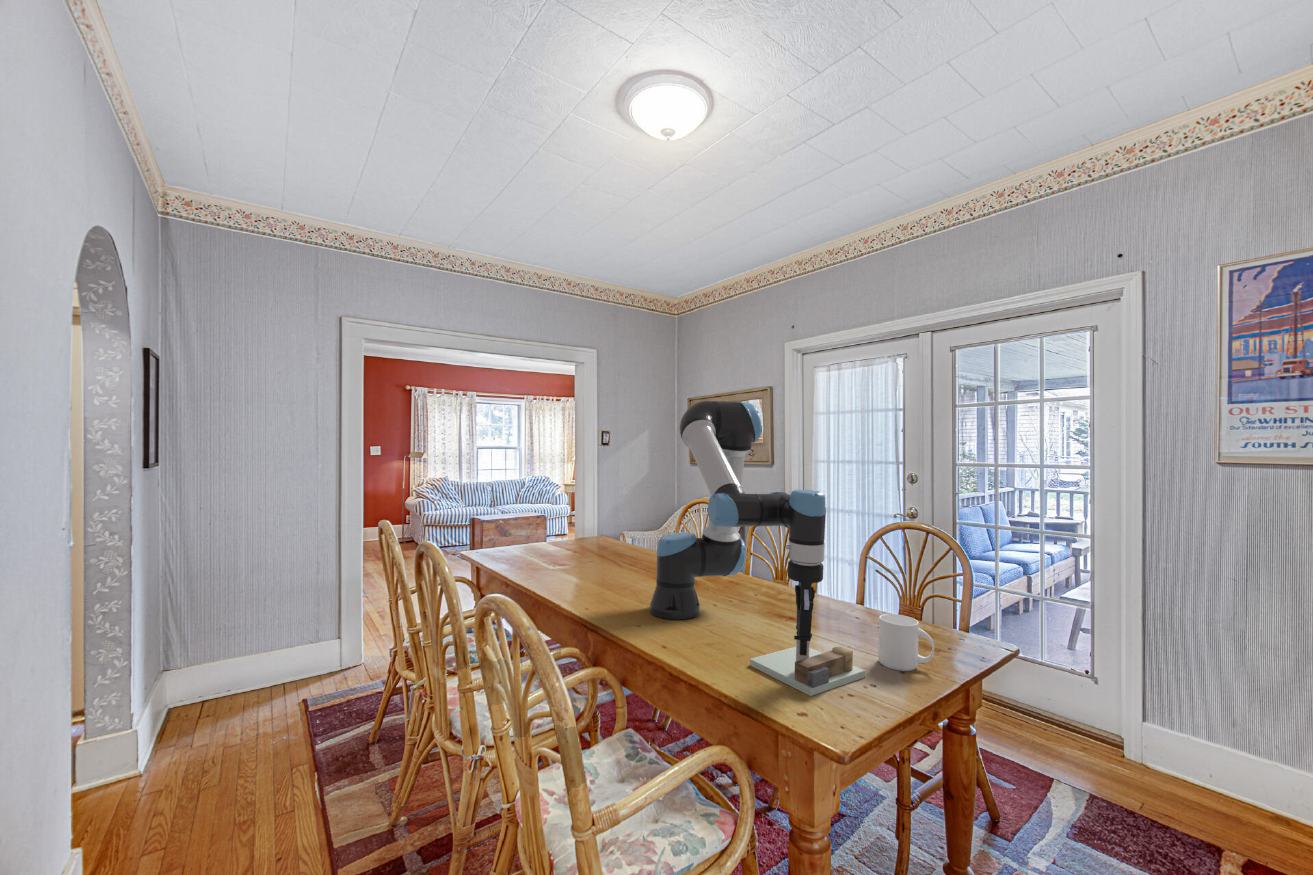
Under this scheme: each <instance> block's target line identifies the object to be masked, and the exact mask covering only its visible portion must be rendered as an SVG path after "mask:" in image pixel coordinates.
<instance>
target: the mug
mask: <svg viewBox="0 0 1313 875" xmlns="http://www.w3.org/2000/svg"><path fill="white" fill-rule="evenodd" d="M878 624H879V625H878V649H877V650H878V652H877V654H878V662H879V663H880V664H881V665H882V666H884V667H885V668H888V669H890V670H895V671H899V672H901V671H902V672H911V671H915V669H917V668H918V664H925V663H928V662H930V661H931V660H932V658H933V656H934V653H935V642H934V640H933V638H932V637H931V636H930V635H929V633H927V632H926V631H925V630H923V629H922V628H921V627H920V624H919V621H918V620H917V619H915V618H914V617H910V616H907V615H903V614H896V613H885V614H881V615H879V618H878ZM919 637H920V638H924V639H926V640H927V641H928V642H929V644H930V646H931V648H932V649H931V653H930V654H929V655H927V656H923V655H920V654H919Z"/></svg>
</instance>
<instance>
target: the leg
mask: <svg viewBox="0 0 1313 875" xmlns="http://www.w3.org/2000/svg"><path fill="white" fill-rule="evenodd" d="M853 656H854V652H853V650H852V649H851V648H848V647H845V646H834V647H832V650H829V651H826V652H822V654H819V655H816V656H813V657H809V658H806V659H803V660H800V661H797V662H795V677H794V679H797V680H799V681H801V682H803V683H805V684H807V681H808V671H810V670H813V669H816V668H820V667H823V666H824V667H826V668H829V677H831V676H833V675H836V674H839V673H842V672H845V671H851V670H852V668H853V666H854V665H853V663H854V662H853V659H854V658H853Z"/></svg>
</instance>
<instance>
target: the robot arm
mask: <svg viewBox="0 0 1313 875" xmlns="http://www.w3.org/2000/svg"><path fill="white" fill-rule="evenodd" d="M762 430H763V429H762V419H761V415H760V412H759V410H758V408H757V407H756V406H755V405H754V404H753V403H750V402H743V401H724V400H719V401H717V400H702V401H698V402H696V403H694V404H692V405H691V406H690V407H688V408H687V409H686V410H685V412H684V414H683V415H682V417H681V419H680V423H679V434H680V438H681V440H682V443H683V445H684V446H685V447H687V448H688V449H690V451H691V454H692V456H693V459H694V461H695V462H696V465H697V468H698V470H699V472H700V474H701V476H702V478H703V480H704V483H705V485H706V487H707V490H708V492H709V494H710V496H709V499H708V502H707V513H708V524H707V526H706V527H705V528H703V529H702V534H701V537H697V536H696V534H695V533H692V532H676V533H671V534H666V535H664V536H662V537H660V539H659V540H658V542H657V548H656V582H655V583H656V584H655V585H656V586H655V589H654V591H653V594H652V598H651V601H650V604H649V613H650V614H651V615H653V616H654V617H657V618H660V619H665V620H679V621H680V620H689V619H694V618H696V617H698V616H700V613H701V605H700V602H699V598H698V595H697V590H696V586H695V583H696V582H695V581H696V578H697V577H698V578H700V577H701V578H703V577H727V576H735V575H737V574H738V573H740V571H741V570H742V569H743V567H744V565H745V561H746V555H747V553H746V552H747V551H746V544H745V541H744V540H743V538H742V537H741V534H740V533H739V531H738V530H737V528H739V527H740V528H741V527H784V528H787V529H788V544H786V545H785V549H786V550H788V559H789V560H788V562H787V577H788V578H789V579H790V580H791V581H794V582H798V584H795V586H794V592H795V606H796V625H795V629H796V632H795V634H796V635H794V636H793V638H794V640H795V641H796V644H795V647H796V662H797V661H800V660H803V659H806V658H809V647H810V644H811V643H810V642H811V640H812V638H813V634H812V621H813V620H812V619H813V610H814V599H815V596H816V595H815V594H816V591H815V587H814V586H812V585H813V584H814V583H815V584H817V583H821V582H822V581H823V580H824V564H823V562H825V548H826V546H825V544H826V543H825V532H826V517H827V516H826V514H827V507H826V495H825V493H824V492H822V491H820V490H813V489H796V490H793V491H791V492H790V493H787V492H783V491H782V492H781V491H771V492H769V493H745V491H744V489H743V487H742V483H743V475H744V466H745V458H746V455H747V454H748V453H749V452H751V450H752V446H753V445H752V444H754V443H757V442H758V441H759V440H760V438H761V435H762Z"/></svg>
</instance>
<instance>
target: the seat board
mask: <svg viewBox="0 0 1313 875" xmlns="http://www.w3.org/2000/svg"><path fill="white" fill-rule="evenodd" d="M822 653H823V652H821V651H818V650H816V649H814V648H812V647H810V646H809V657H813V656H816V655H819V654H822ZM795 662H796V646H793V647H789V648H785V649H780V650H778V651H775V652H770V653H767V654H763V655H759V656H756V657H751V658H749V666H750V667H752V668H754V669H757V670H758V671H759V672H760V671H761V672H762V673H764V674H766V675H768V676H770V677H772V678H774V679H776V680H778V681H780V682H782V683H784V684H786V685H788V686H790V687H792V688H794V689H796V690H798V691H800V692H802V693H803V694H806V695H808V696H810V697H813V696H816V695H819V694H822V693H824V692H826V691H829V690H832V689H835V688H838V687H840V686H843V685H847V684H850V683H852V682H855V681H858V680H861V679H864V678H866V670H865V669H862V668H861V667H858V666H855V665H853V668H852V670H851V671H845V672H842V673H839V674H836V675H833V676H831V677H829V683H827V684H824V685H821V686H818V687H815V688H811V687H809V686H807V684H805V683H803V682H801V681H799V680H797V679H794V677H795Z"/></svg>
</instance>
